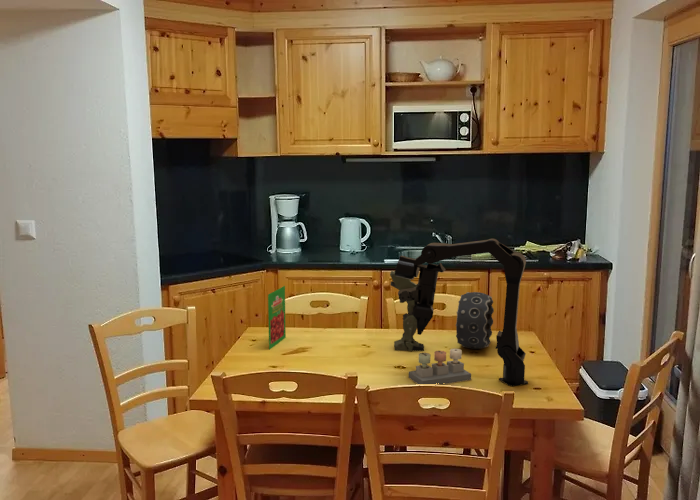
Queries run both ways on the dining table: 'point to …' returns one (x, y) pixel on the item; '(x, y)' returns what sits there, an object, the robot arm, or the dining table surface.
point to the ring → (474, 320)
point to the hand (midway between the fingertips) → (419, 329)
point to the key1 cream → (455, 355)
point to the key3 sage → (424, 359)
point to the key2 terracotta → (440, 357)
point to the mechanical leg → (406, 318)
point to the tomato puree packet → (276, 316)
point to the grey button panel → (440, 373)
